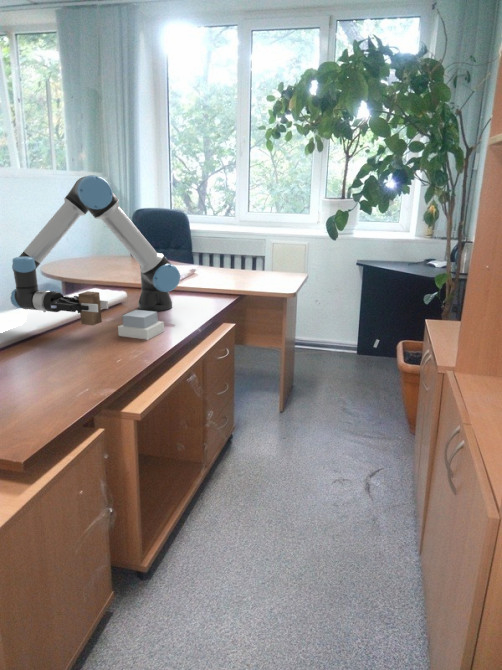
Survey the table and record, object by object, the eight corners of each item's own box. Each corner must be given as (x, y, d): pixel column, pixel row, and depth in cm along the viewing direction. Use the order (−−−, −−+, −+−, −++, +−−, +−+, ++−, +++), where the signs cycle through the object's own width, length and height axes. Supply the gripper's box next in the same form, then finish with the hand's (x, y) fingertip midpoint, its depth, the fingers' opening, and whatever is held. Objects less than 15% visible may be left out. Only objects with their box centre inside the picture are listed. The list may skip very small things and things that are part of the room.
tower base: (136, 328, 185) (136, 318, 184) (164, 331, 181) (163, 321, 180) (118, 337, 174) (118, 326, 173) (147, 340, 170) (146, 330, 169)
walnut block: (90, 320, 176) (87, 291, 172) (101, 321, 174) (99, 292, 171) (81, 324, 171) (78, 294, 168) (93, 325, 169) (90, 295, 166)
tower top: (136, 319, 182) (136, 309, 181) (157, 322, 179) (157, 311, 178) (123, 325, 174) (122, 315, 173) (144, 328, 171) (144, 317, 170)
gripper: (67, 305, 186) (118, 311, 178) (32, 317, 169) (87, 323, 162) (65, 286, 183) (116, 291, 176) (29, 296, 167) (84, 301, 160)
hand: (102, 306), depth 169 cm, fingers closed on walnut block, 5 cm apart
